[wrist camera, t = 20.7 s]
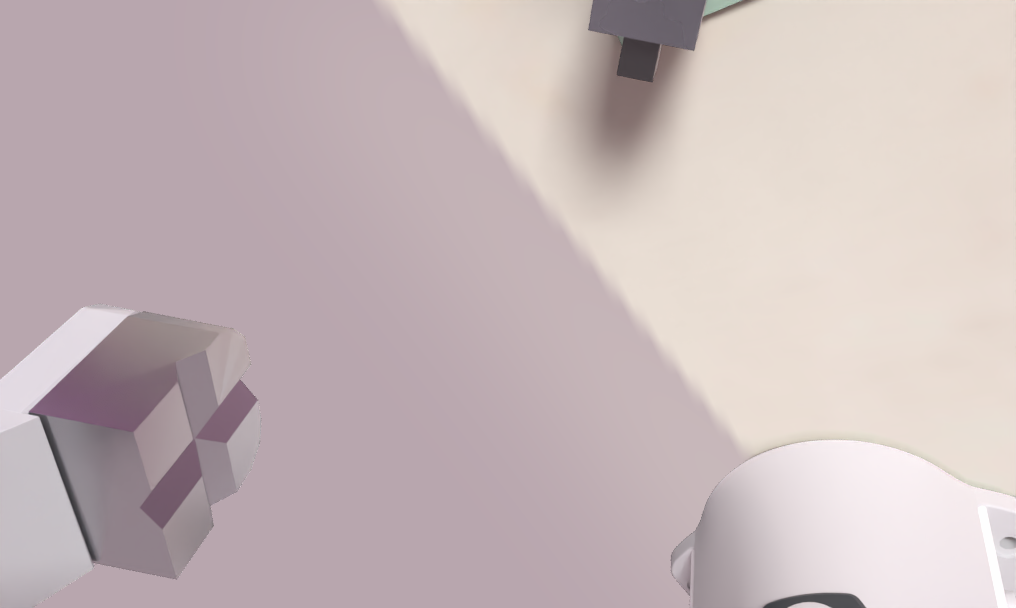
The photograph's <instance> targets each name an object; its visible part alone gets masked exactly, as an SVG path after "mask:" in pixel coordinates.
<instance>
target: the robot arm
mask: <svg viewBox="0 0 1016 608" xmlns="http://www.w3.org/2000/svg"><path fill="white" fill-rule="evenodd" d="M250 365H251V361H250V357H249V352H248V348H247V344H246V340H245V337H244V336H243V335H242V334H240V333H239V332H237V331H236V330H234V329H232V328H227V327H222V326H216V325H212V324H206V323H201V322H196V321H191V320H186V319H180V318H175V317H170V316H165V315H159V314H154V313H149V312H138V311H134V310H129V309H124V308H119V307H114V306H108V305H103V304H96V305H92V306H87V307H83V308H81V309H80V310H79V311H78V312H77V313H76V314H75V315H73V316H72V317H71V318H70V319H69V320H68V321H67V322H65V324H63V325H62V326H61V327H60V328H59V329H58V330H56V331H55V332H54V333H53V334H52V335H51V336H50V337H48V338H47V339H46V340H45V341H44V342H43V343H42V344H40V345H39V346H38V347H37V348H36V349H35V350H34V351H33V352H31V353H30V354H29V355H28V356H27V357H26V358H25V359H23V360H22V361H21V362H20V363H19V364H18V365H17V366H16V367H14V368H13V369H12V370H11V371H10V372H9V373H8V374H6V375H5V376H4V377H3V378H2V379H1V380H0V608H33V607H35V606H36V605H38V604H39V603H41V602H42V601H44V600H45V599H47V598H49V597H50V596H52V595H53V594H55V593H56V592H58V591H59V590H61V589H63V588H64V587H65V586H67V585H69V584H70V583H72V582H73V581H75V580H76V579H78V578H80V577H81V576H83V575H84V574H86V573H87V572H89V571H90V570H92V569H93V568H94V565H93V563H97V564H102V565H106V566H112V567H117V568H122V569H127V570H132V571H137V572H142V573H147V574H152V575H157V576H162V577H167V578H172V579H177V578H178V577H179V576H180V574H181V573H182V571H183V570H184V568H185V567H186V565H187V564H188V562H189V561H190V560H191V558H192V557H193V555H194V554H195V552H196V551H197V549H198V548H199V546H200V545H201V544H202V542H203V540H204V539H205V538H206V536H207V535H208V533H209V532H210V530H211V529H212V528H213V526H214V525H213V518H212V512H211V505H213V504H215V503H217V502H219V501H220V500H222V499H224V498H226V497H228V496H230V495H232V494H234V493H236V492H237V491H238V489H239V488H240V486H241V485H242V483H243V481H244V480H245V478H246V477H247V475H248V474H249V472H250V471H251V468H252V465H253V462H254V459H255V456H256V453H257V450H258V447H259V444H260V433H261V415H260V410H259V403H258V400H257V398H256V397H255V396H254V395H253V394H252V393H251V391H250V390H249V389H248V388H247V387H246V385H245V384H244V383H243V382H242V381H241V380H240V379H241V377H242V376H243V375H244V373H245V372H246V370H247V369H248V368H249V367H250ZM1006 537H1012V538H1006ZM671 572H672V575H673V576H674V578H675V579H676V580H677V582H678V583H679V584H680V585H681V586H682V587H683V589H684V590H685V591H686V592H687V593H688V594H689V595H690V608H1016V498H1015V497H1013V496H1009V495H1006V494H1002V493H998V492H994V491H990V490H986V489H981V488H977V487H972V486H970V485H968V484H966V483H964V482H962V481H960V480H958V479H956V478H955V477H953V476H952V475H950V474H948V473H947V472H945V471H944V470H942V469H940V468H939V467H937V466H935V465H934V464H932V463H930V462H928V461H926V460H924V459H922V458H920V457H918V456H915V455H913V454H910V453H908V452H905V451H902V450H899V449H895V448H892V447H888V446H884V445H879V444H875V443H869V442H862V441H852V440H816V441H807V442H800V443H795V444H790V445H786V446H782V447H778V448H775V449H772V450H769V451H766V452H764V453H761V454H759V455H757V456H755V457H753V458H751V459H749V460H747V461H745V462H744V463H742V464H740V465H739V466H738V467H736V468H735V469H733V470H732V471H731V472H730V473H728V474H727V475H726V476H725V477H724V478H723V479H722V480H721V481H720V482H719V484H718V485H717V486H716V487H715V489H714V490H713V492H712V493H711V495H710V497H709V498H708V500H707V503H706V505H705V508H704V511H703V514H702V517H701V520H700V523H699V525H698V527H697V528H696V530H695V531H694V532H693V533H691V534H690V535H689V536H688V537H687V538H685V539H684V540H683V541H682V542H681V543H680V544H679V545H678V546H677V547H676V548H675V549H674V551H673V552H672V555H671Z"/></svg>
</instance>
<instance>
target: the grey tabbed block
mask: <svg viewBox="0 0 1016 608" xmlns="http://www.w3.org/2000/svg"><path fill="white" fill-rule="evenodd" d="M706 3H707V0H593V5H592V11H591V17H590V23H589V29H588V30H590V31H595V32H600V33H605V34H610V35H616V36H621V37H624V39H623V44H622V49H621V55H620V60H619V66H618V71H617V75H618V76H623V77H628V78H633V79H638V80H643V81H648V82H653V79H654V76H655V73H656V70H657V66H658V61H659V56H660V52H661V47H662V45H667V46H672V47H678V48H683V49H688V50H693V51H694V49H695V45H696V42H697V38H698V34H699V30H700V26H701V22H702V19H703V15H704V11H705V7H706Z"/></svg>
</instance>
